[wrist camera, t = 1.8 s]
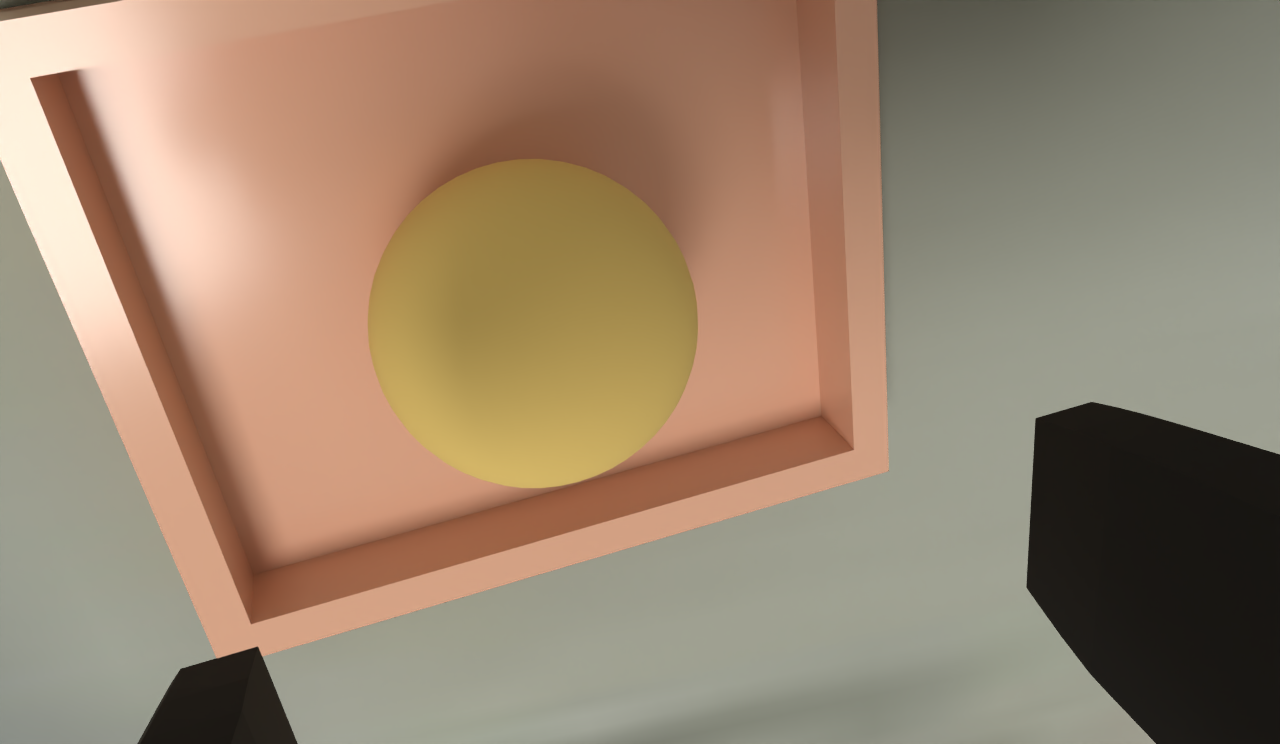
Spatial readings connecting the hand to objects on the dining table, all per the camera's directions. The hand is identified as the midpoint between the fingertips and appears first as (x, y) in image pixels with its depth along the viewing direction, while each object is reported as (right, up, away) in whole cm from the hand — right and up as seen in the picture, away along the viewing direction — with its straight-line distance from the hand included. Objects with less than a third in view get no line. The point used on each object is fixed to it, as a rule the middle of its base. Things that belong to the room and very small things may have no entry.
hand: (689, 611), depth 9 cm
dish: (-3, +4, +9) cm, 10 cm away
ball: (-2, +3, +6) cm, 7 cm away
